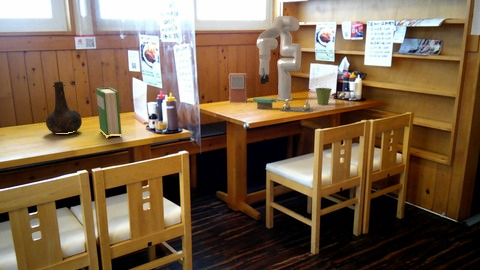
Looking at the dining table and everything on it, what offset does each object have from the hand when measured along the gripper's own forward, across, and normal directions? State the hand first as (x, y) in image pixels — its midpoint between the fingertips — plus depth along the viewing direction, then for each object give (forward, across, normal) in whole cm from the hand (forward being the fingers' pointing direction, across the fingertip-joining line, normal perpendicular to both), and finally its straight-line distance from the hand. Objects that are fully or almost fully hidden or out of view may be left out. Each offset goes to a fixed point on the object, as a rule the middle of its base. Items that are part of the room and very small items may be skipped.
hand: (264, 83), depth 285 cm
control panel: (+18, -23, -26) cm, 39 cm away
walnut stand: (+18, 0, 0) cm, 18 cm away
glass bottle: (+19, +93, -89) cm, 130 cm away
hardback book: (+19, +89, -63) cm, 111 cm away
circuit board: (+13, 0, 0) cm, 13 cm away
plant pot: (+18, -26, +37) cm, 49 cm away
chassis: (+18, 0, +22) cm, 28 cm away
